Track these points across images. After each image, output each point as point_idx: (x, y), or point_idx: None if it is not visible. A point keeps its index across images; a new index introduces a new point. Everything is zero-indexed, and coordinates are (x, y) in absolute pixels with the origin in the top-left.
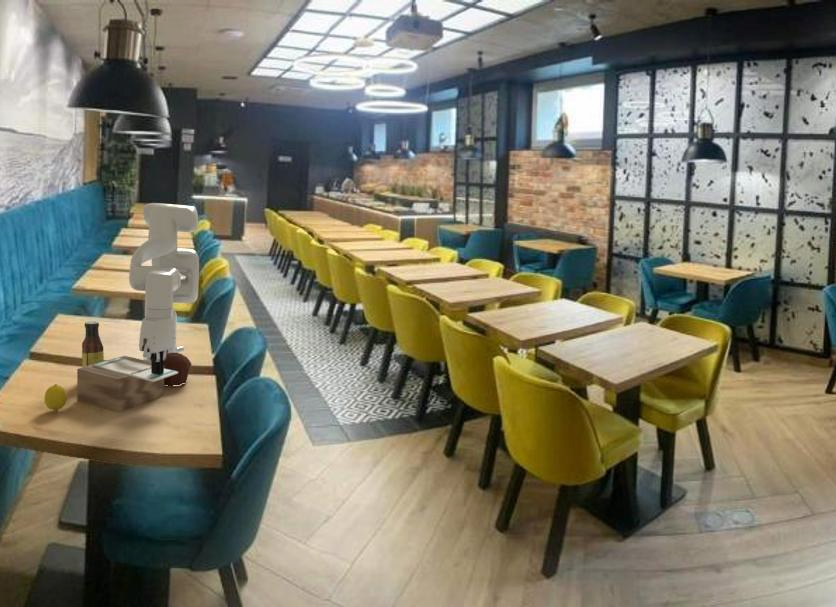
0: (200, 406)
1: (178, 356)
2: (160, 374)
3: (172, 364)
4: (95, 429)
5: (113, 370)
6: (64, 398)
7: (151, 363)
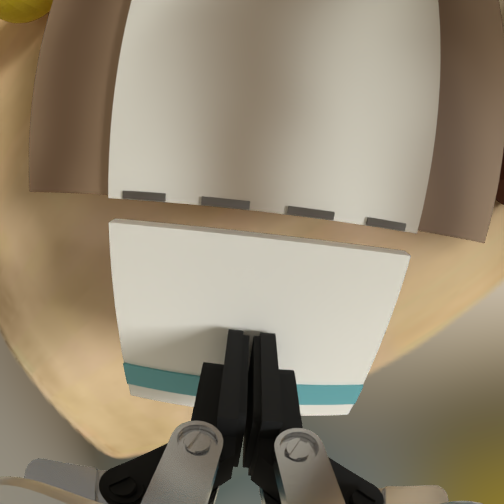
0: None
1: None
2: None
3: None
4: (8, 215)
5: (130, 10)
6: (19, 16)
7: (222, 385)
